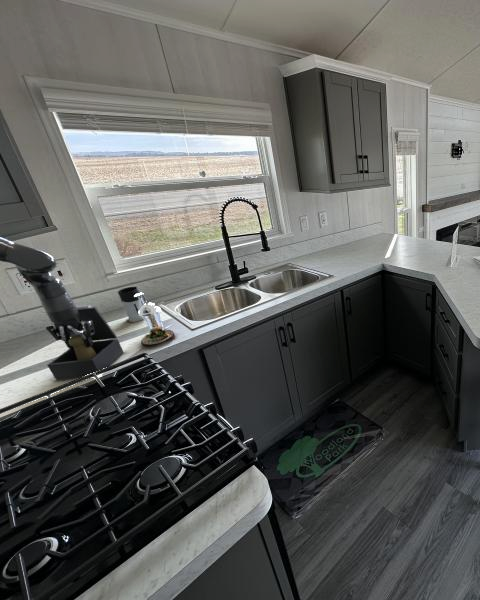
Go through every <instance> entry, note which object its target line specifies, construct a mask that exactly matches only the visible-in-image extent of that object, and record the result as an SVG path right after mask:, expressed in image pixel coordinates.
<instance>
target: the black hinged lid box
mask: <svg viewBox="0 0 480 600" xmlns="http://www.w3.org/2000/svg"><path fill="white" fill-rule="evenodd" d="M91 347H92V348H93V350H94V351H95V352H96V353H97V355H96V356H94V357H93V358H92V359H87V360H79V361H78V359H77V356H76V353H75V351H74V349H69V348H67V350H66V351H64V352H63V353H61V354H60V355H59V356H57V357H56V358H55V359H53V360H52V361H50V362H49V363H48V364H46V365H47V366H46V367H48V369H49V370H50V372H51V374H52V375H53V377H54V379H55V381H62V380H70V379H78V378H83V377H82V376H85V375H87V374H90V373H93V372H96V371H99V370H102V369H103V368H106V367H108V368H110V367H111V366H112V365H113V364H114V363H115V362H116V361H117V360H118V359H120V358H121V356H123V355H124V354H125V351H124V350H123V347H122V346H121V343H120V341H119V339H118V338H115V339H106V340H97V341H93V345H92V346H91ZM109 366H110V367H109Z"/></svg>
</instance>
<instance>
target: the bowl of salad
mask: <svg viewBox="0 0 480 600" xmlns="http://www.w3.org/2000/svg"><path fill="white" fill-rule="evenodd" d="M170 338H172V339H173V340H174V339H175V338H176V336H175V332H174V331H173V330H171V329H164V330H163V329H162V327H160V326H156V325H155V327H153V328H152V329H151V330H150V329H149V334H147V333H146V335H144V337H143V338H142V339H141V341H140V344H141V345H142V346H143V345H148V346H149V345H156V344H160V343H163V342H165V341H167V340H169V339H170Z"/></svg>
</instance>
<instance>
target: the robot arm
mask: <svg viewBox="0 0 480 600" xmlns="http://www.w3.org/2000/svg"><path fill="white" fill-rule="evenodd" d="M0 262H1V263H8V264H11V265H14V266H15V268H16V270H17V271H18V273H19V274H20V276H22V278H24V279H25V281H26V282H27V283H28V284H29V285H30V286H31V287H32V288H33V290H34V292H35V294H36V296H37V297H38V299H39V301H40V305H41V306H42V308H43V309H44V311H45V313H46V315H47V317H48V319H49V320H50V322H51V323H50V324H49V325H47V326H46V327H45V329H46V330H47V331H48V333H49V334H50V335H51V337H53V338H54V339H55V340H56V341H62V342H64V344H65V346H66V347H67V349H74V348H73V346H71V345H70V344H69V342H68V341H69V339H70V338H71V332H73V333H75V334H77V335H79V336H81V337H82V338H83V341H84V343H85V345H86V347H91V346H92V345H93V341H92V339H91V336H92V335H93V334H95V330H94V326H93V321H92V320H89V321H83V320H82V319H81V318H80V317H79V312H78V310H77V308H76V304H75V302H74V300H73V298H72V297H71V296H70V294H69V293H68V291H67V289H66V287H65V285H64V284H63V282H62V281H61V279H60V278H58V277H56V276H54V275H52V274H51V272H53V271H54V270H55V269H56V267H57V261H56V259H55V258H54V257H53V256H52V255H51V254H50V253H47V252H45V251H43V250H39V249H36V248H34V247H30V246H27V245H23V244H20V243H17V242H14V241H12V240H9V239H7V238H5V237H2V236H0ZM82 324H83V325H84V326H83V325H82ZM80 329H81V331H79V330H80ZM83 333H84V334H85V335H84V334H83Z"/></svg>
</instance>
